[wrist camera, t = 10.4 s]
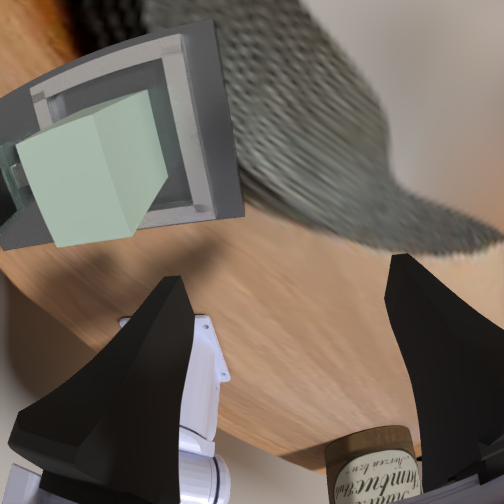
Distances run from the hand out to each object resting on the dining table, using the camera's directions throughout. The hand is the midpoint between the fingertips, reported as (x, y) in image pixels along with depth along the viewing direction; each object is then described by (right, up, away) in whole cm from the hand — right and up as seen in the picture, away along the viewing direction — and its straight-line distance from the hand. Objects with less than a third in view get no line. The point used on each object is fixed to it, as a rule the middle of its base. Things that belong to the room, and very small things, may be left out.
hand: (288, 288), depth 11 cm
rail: (-12, +7, +6) cm, 15 cm away
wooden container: (+18, -30, +33) cm, 48 cm away
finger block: (-8, +7, +5) cm, 12 cm away
